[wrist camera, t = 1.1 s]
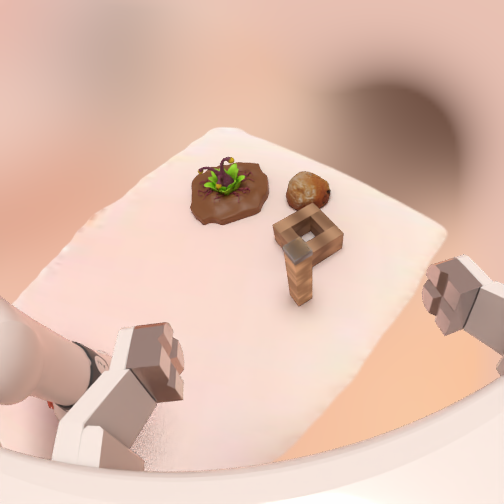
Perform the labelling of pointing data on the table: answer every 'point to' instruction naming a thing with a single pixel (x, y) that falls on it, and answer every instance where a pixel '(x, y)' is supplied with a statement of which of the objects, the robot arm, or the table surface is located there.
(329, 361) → the table surface
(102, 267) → the table surface
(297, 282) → the upright wooden post
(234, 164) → the plant
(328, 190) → the bread roll
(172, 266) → the table surface
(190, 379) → the table surface
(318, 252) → the square wooden socket base
